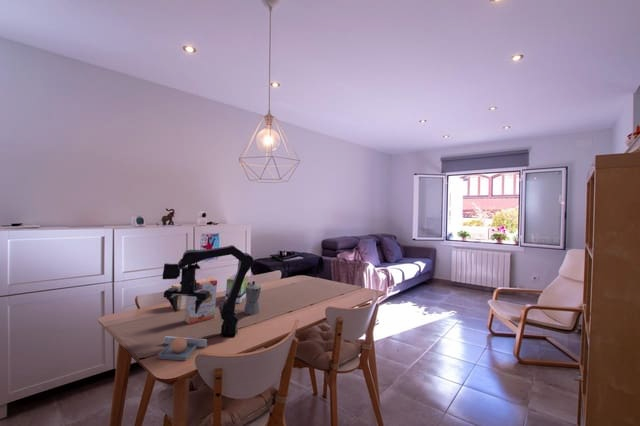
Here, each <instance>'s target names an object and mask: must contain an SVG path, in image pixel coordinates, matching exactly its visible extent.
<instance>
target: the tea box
mask: <svg viewBox="0 0 640 426" xmlns="http://www.w3.org/2000/svg"><path fill="white" fill-rule="evenodd" d="M235 276H236V273H234V274H232V275H231V276H229V277H228V278H227V279H226V286H225V287H226V288H225V297H224V298H225V299H224V301H225V300H226V299H227V298H228V295H229V292H230V290H231V287H232V284H233V281H234V279H235ZM248 281H249V275H248V274H246V275H245V277H244V280H243V283H242V286H241V288H240V291H239V294H238V296H237V299H236V302H235V304H241V303H242V302H243V300H245V298H246V288H245V287H246V285H247V284H248Z"/></svg>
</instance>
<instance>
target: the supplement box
mask: <svg viewBox="0 0 640 426" xmlns="http://www.w3.org/2000/svg"><path fill="white" fill-rule="evenodd" d="M171 288H178V291H180V290H181V284H180V283H174V284H171ZM169 303H170V302H169ZM185 305H186V296H180V295H179V296H178V299H177V310H179V311H182V310H185ZM169 306H170V307H169V308H172V309H173V307H172V305H171V303H170V304H169Z"/></svg>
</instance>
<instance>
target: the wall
mask: <svg viewBox="0 0 640 426" xmlns="http://www.w3.org/2000/svg"><path fill="white" fill-rule="evenodd" d="M177 337H178V336H169V335H168V336H166V335H165V336H164V345H169V344H170V343H171V342H172V341H173V340H174V339H175V338H177ZM184 338H185V339H186V341H187V343H195V344H197V348H198V347H203V348H206V347H207V342H208V339H206V338H192V337H184Z"/></svg>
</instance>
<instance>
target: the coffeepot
mask: <svg viewBox="0 0 640 426" xmlns="http://www.w3.org/2000/svg"><path fill="white" fill-rule="evenodd" d="M255 283H256V281H252V282H248V284H247V285H246V287H245V288H246V297H245V298H246V301H245V304H244V305H245V306H244V309H243V313H244V314H245V313H246V314H245V315H248V314H255V315H258V314H260V305H259V298H260V294H261V289H262V285H259V284H255ZM257 313H258V314H257Z"/></svg>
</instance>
